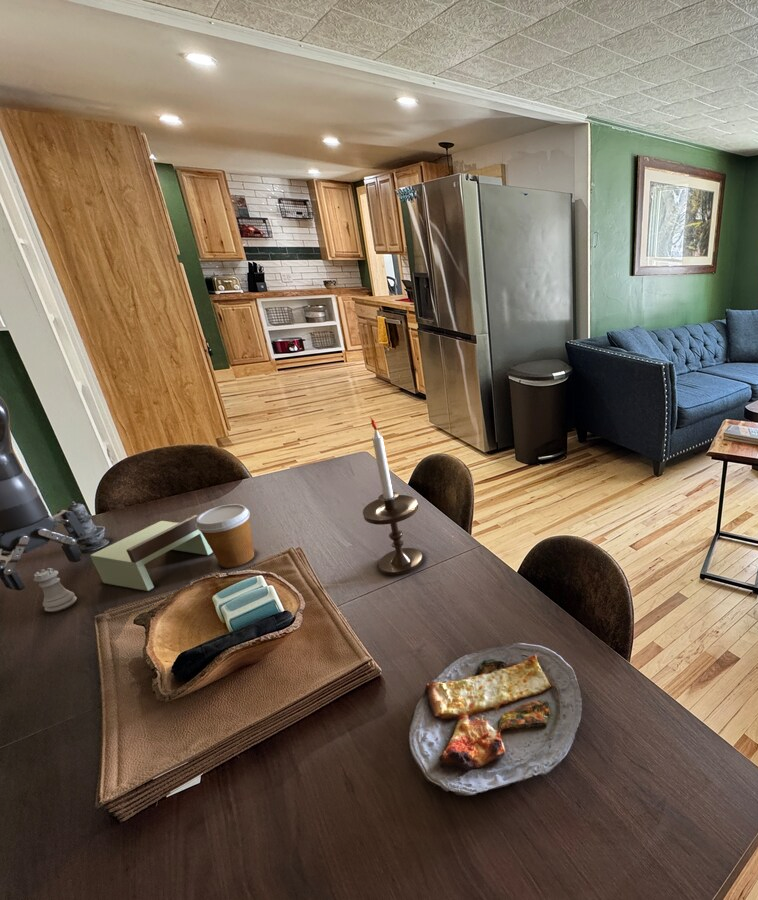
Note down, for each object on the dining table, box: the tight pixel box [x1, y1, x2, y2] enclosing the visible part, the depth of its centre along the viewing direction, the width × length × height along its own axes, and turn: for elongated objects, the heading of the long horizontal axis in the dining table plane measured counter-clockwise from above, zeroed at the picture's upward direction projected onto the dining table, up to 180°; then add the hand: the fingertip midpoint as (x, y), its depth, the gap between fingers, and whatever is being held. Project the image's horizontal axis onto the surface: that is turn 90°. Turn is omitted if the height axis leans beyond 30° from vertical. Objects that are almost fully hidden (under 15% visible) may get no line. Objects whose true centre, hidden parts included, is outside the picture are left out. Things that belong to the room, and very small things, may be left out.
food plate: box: [407, 641, 583, 797], centre depth 71 cm, size 25×23×4 cm
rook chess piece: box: [33, 567, 78, 613], centre depth 92 cm, size 4×4×8 cm
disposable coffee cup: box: [196, 503, 255, 568], centre depth 105 cm, size 10×10×12 cm
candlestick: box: [362, 416, 423, 577], centre depth 100 cm, size 11×11×35 cm
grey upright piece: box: [66, 500, 110, 553], centre depth 110 cm, size 6×6×12 cm
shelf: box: [89, 514, 214, 592], centre depth 103 cm, size 12×14×10 cm
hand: (48, 574), depth 90 cm, fingers open, 8 cm apart
